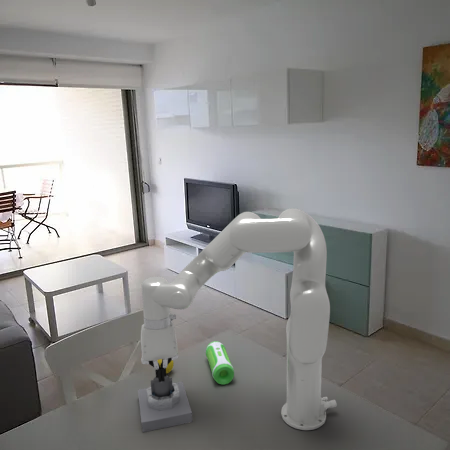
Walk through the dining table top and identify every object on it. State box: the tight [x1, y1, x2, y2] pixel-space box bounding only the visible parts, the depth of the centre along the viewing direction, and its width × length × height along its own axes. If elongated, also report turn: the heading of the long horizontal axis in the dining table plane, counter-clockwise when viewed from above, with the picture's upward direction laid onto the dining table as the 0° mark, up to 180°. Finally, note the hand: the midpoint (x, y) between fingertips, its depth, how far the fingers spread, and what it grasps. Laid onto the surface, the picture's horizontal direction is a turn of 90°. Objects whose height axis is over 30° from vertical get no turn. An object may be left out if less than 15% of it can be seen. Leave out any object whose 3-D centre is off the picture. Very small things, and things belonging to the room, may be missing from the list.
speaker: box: [205, 340, 235, 385], centre depth 145 cm, size 18×7×8 cm, turn 11°
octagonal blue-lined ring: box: [147, 381, 180, 411], centre depth 125 cm, size 9×9×4 cm
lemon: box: [157, 359, 175, 375], centre depth 144 cm, size 6×6×8 cm
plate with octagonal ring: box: [137, 381, 193, 433], centre depth 126 cm, size 14×16×3 cm
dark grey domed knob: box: [150, 374, 173, 398], centre depth 125 cm, size 6×5×7 cm
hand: (161, 378), depth 124 cm, fingers closed
